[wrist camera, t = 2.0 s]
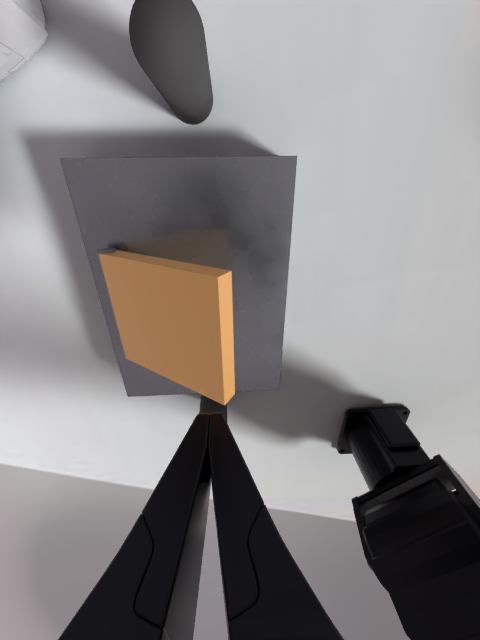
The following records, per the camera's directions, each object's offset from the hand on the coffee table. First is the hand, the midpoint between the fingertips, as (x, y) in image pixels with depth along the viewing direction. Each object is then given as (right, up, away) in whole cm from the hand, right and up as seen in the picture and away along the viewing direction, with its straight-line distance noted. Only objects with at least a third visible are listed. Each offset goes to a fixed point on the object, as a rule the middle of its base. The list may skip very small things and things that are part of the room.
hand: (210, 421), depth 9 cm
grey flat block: (-2, +6, +11) cm, 13 cm away
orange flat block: (-3, +4, +6) cm, 7 cm away
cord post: (-2, +16, +6) cm, 17 cm away
